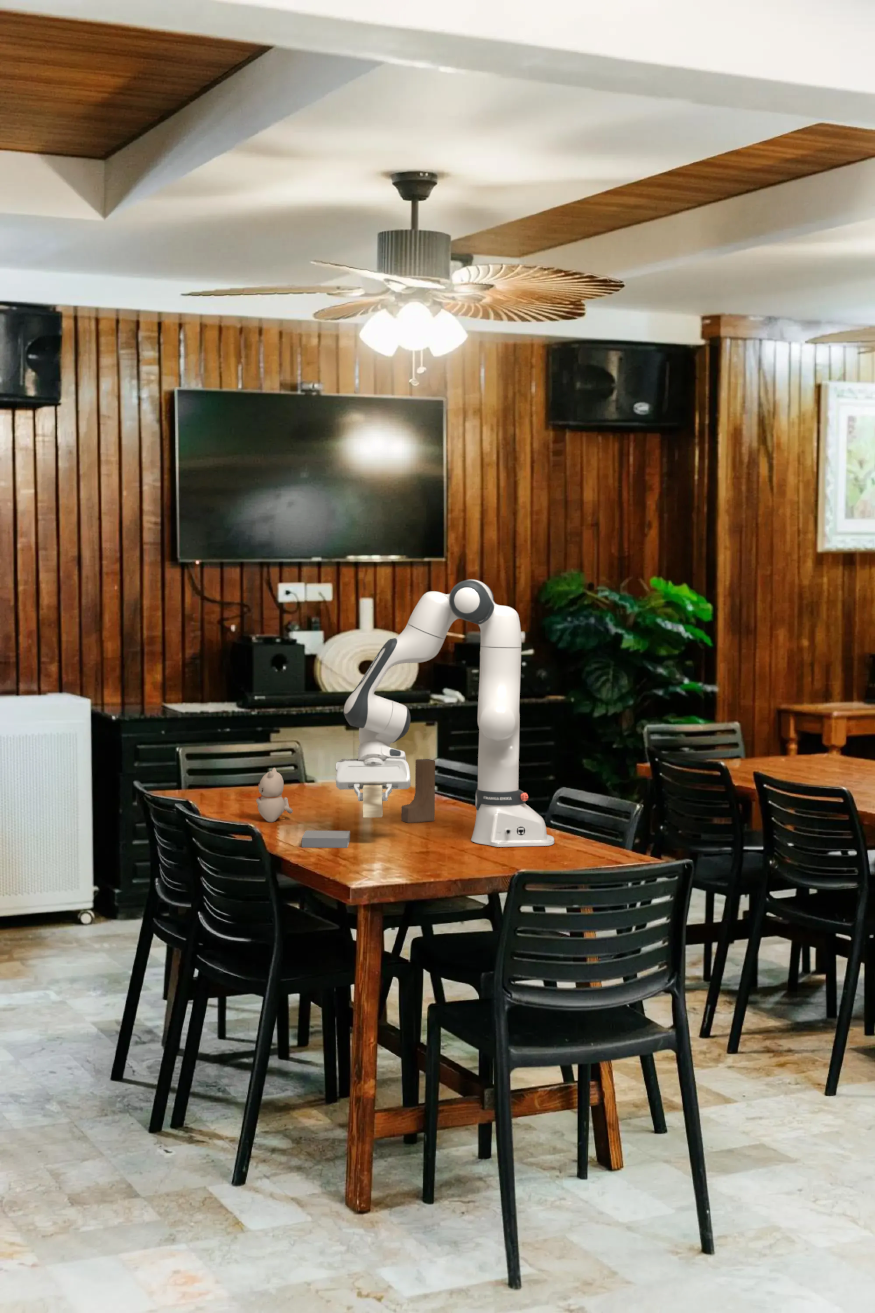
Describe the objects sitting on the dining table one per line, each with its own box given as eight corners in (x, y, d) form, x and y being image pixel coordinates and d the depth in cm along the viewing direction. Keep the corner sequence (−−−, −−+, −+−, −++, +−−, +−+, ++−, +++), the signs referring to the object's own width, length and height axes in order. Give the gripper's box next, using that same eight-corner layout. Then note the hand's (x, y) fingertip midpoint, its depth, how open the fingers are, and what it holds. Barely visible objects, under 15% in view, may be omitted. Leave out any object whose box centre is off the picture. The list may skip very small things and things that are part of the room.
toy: (260, 816, 456) (260, 766, 455) (295, 817, 455) (295, 766, 455) (253, 822, 444) (253, 771, 443) (289, 823, 443) (289, 771, 442)
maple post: (382, 814, 413) (382, 784, 412) (381, 817, 408) (381, 787, 407) (364, 814, 413) (363, 785, 412) (363, 817, 408) (362, 787, 407)
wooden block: (407, 823, 445) (408, 761, 445) (400, 821, 449) (401, 760, 449) (435, 821, 450) (435, 760, 449) (428, 819, 454) (428, 758, 453)
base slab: (350, 840, 416) (350, 831, 415) (347, 847, 404) (347, 838, 403) (305, 839, 416) (305, 830, 415) (301, 847, 404) (301, 838, 403)
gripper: (335, 752, 416) (333, 793, 407) (410, 751, 416) (410, 792, 407) (336, 766, 421) (334, 807, 412) (411, 766, 421) (410, 806, 412)
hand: (372, 799), depth 409 cm, fingers closed on maple post, 5 cm apart
